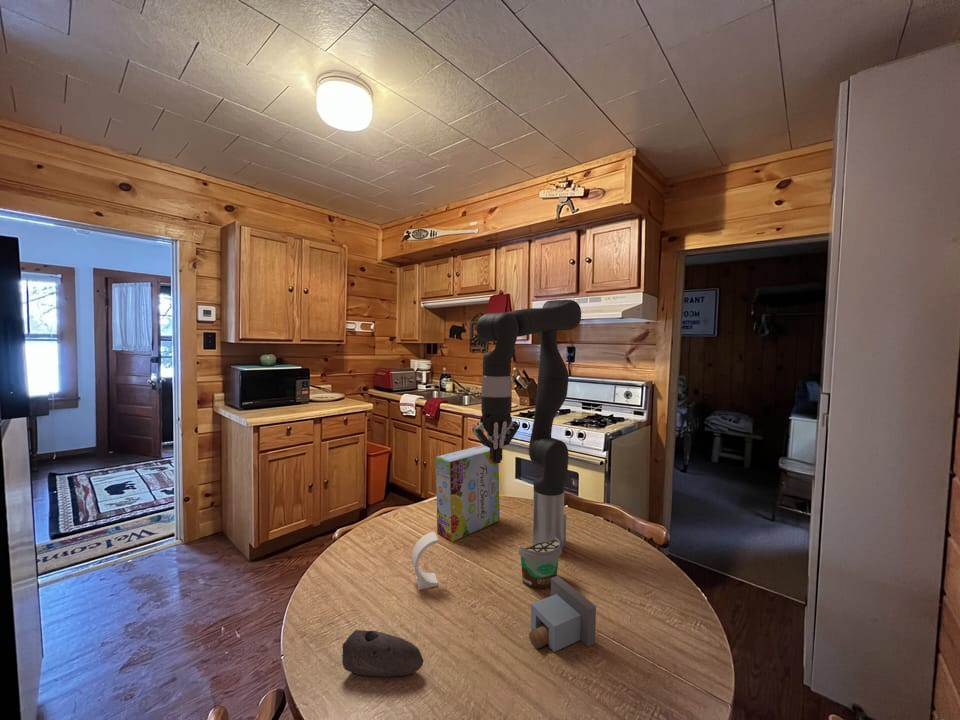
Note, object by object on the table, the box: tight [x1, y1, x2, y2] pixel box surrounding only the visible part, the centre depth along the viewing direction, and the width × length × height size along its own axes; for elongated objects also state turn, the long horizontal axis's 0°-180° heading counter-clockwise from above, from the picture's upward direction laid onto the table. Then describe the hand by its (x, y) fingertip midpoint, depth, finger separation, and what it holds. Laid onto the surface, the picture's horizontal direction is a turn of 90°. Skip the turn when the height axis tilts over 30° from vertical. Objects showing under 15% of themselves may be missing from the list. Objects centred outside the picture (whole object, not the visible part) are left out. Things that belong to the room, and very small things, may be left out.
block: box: [530, 594, 581, 653], centre depth 84 cm, size 7×8×5 cm
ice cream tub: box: [518, 536, 563, 591], centre depth 101 cm, size 12×6×10 cm, turn 117°
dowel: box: [529, 625, 549, 650], centre depth 83 cm, size 8×3×3 cm, turn 119°
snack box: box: [435, 444, 501, 543], centre depth 132 cm, size 22×9×26 cm, turn 133°
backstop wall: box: [550, 575, 597, 648], centre depth 86 cm, size 2×12×8 cm, turn 29°
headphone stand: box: [411, 531, 439, 591], centre depth 101 cm, size 5×6×12 cm
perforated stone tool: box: [341, 629, 424, 678], centre depth 74 cm, size 15×5×7 cm, turn 83°
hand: (495, 462), depth 99 cm, fingers closed
